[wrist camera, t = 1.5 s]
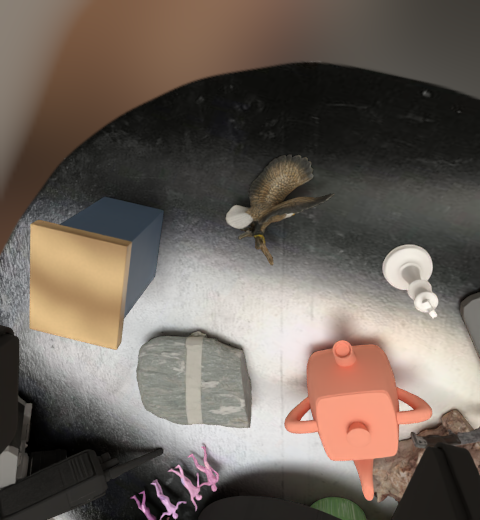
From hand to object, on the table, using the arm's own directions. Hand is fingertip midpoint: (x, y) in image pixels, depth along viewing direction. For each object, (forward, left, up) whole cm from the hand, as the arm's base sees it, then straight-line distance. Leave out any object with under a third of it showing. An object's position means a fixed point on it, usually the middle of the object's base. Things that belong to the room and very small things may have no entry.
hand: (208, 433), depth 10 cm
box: (+12, -14, -37) cm, 42 cm away
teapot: (+23, +14, -37) cm, 46 cm away
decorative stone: (+29, -1, -39) cm, 49 cm away
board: (+12, -14, -25) cm, 31 cm away
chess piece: (+8, +15, -37) cm, 41 cm away
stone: (+29, +22, -34) cm, 50 cm away
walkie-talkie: (+46, -23, -26) cm, 57 cm away
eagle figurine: (+4, +1, -37) cm, 38 cm away
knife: (+22, +25, -34) cm, 47 cm away
